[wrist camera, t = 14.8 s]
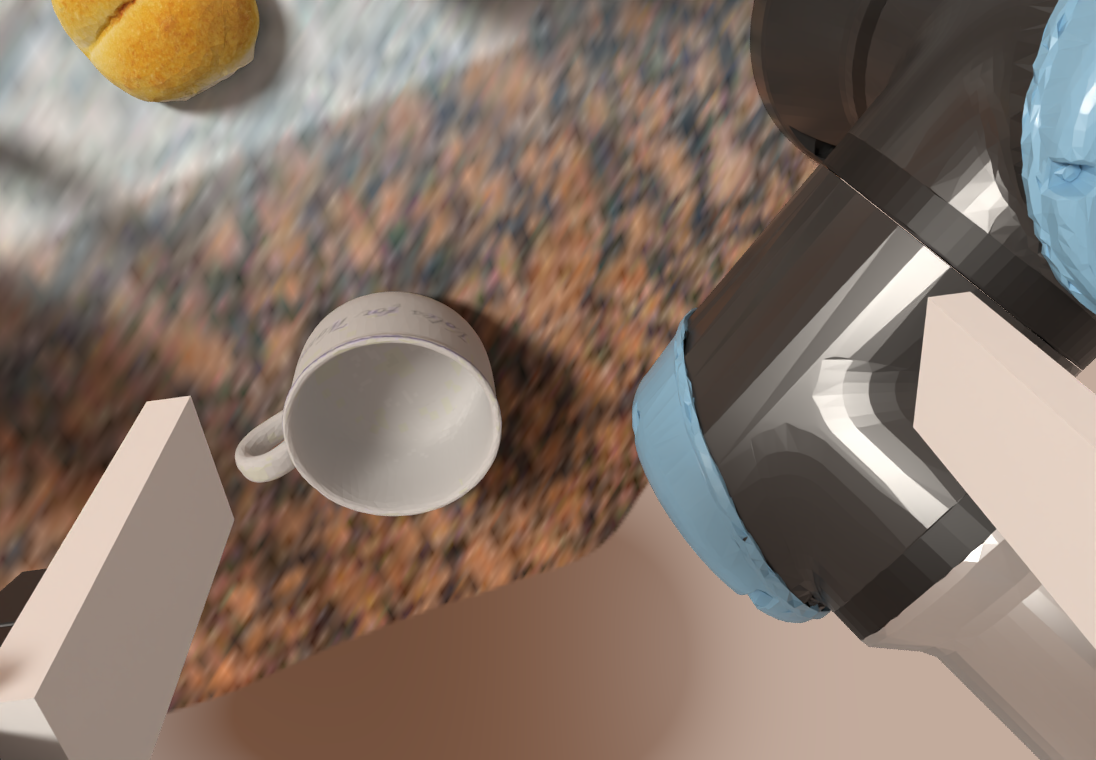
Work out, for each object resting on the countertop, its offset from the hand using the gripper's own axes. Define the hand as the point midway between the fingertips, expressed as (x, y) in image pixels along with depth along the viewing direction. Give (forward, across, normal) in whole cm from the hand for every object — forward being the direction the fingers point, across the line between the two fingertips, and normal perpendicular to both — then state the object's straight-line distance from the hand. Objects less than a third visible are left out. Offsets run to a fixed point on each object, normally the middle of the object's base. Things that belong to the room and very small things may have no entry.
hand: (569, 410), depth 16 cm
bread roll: (+32, +15, -5) cm, 36 cm away
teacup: (+32, +9, +15) cm, 36 cm away
